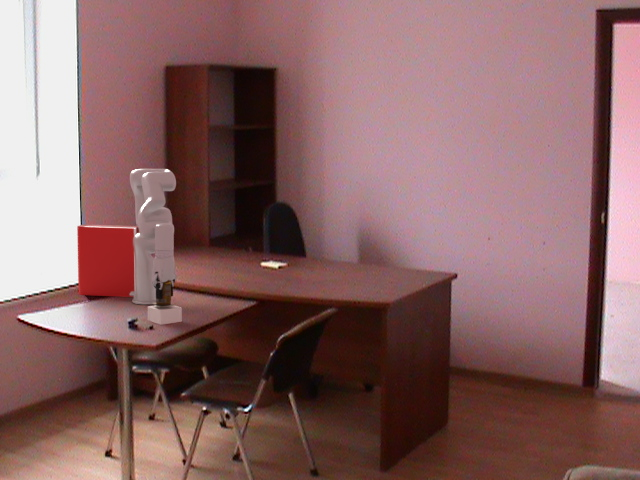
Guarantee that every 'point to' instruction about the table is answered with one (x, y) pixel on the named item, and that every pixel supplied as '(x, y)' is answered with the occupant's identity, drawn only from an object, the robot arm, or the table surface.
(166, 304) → the condiment
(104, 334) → the table surface
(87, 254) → the book
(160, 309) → the cream block
